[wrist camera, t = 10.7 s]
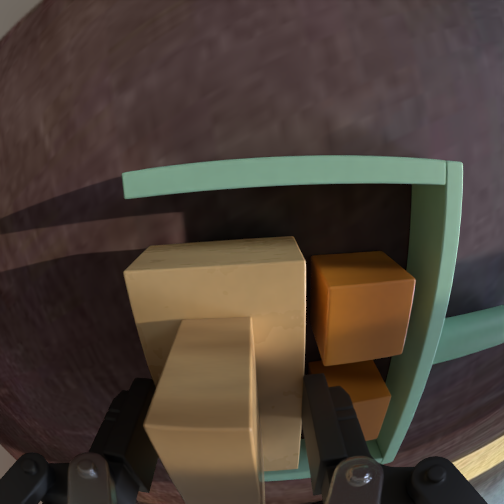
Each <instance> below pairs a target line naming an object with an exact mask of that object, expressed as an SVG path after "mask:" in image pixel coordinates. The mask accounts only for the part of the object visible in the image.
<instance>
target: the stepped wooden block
mask: <svg viewBox="0 0 504 504" xmlns="http://www.w3.org/2000/svg"><path fill="white" fill-rule="evenodd" d="M123 275H124V279H125V284H126V288H127V292H128V296H129V301H130V305H131V309H132V312H133V316H134V320H135V324H136V327H137V331H138V335H139V338H140V342H141V345H142V348H143V352H144V355H145V358H146V361H147V365H148V368H149V371H150V374H151V377H152V380H153V382H154V385H155V388H156V389H155V392H154V395H153V398H152V400H151V403H150V406H149V409H148V412H147V415H146V417H145V420H144V423H143V427H144V429H145V431H146V433H147V435H148V438H149V440H150V442H151V443H152V445H153V447H154V449H155V451H156V453H157V455H158V457H159V459H160V461H161V462H162V464H163V466H164V468H165V470H166V471H167V473H168V475H169V477H170V478H171V480H172V482H173V483H174V485H175V487H176V488H177V490H178V492H179V493H180V495H181V497H182V498H183V500H184V501H185V503H186V504H265V484H264V471H279V470H291V469H298V466H299V454H300V441H301V426H302V420H301V415H302V396H303V376H304V368H305V334H306V261H305V259H304V257H303V255H302V253H301V251H300V249H299V247H298V245H297V243H296V241H295V239H294V237H293V236H284V237H269V238H253V239H238V240H224V241H209V242H195V243H181V244H168V245H155V246H149V247H148V248H147V249H146V250H145V251H144V252H143V253H142V254H141V255H140V256H139V257H138V258H137V259H136V260H135V261H134V262H133V263H132V264H131V265H130V266H129V267H128V268H127V269H125V270H124V272H123Z"/></svg>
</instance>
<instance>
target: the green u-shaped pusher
mask: <svg viewBox="0 0 504 504" xmlns="http://www.w3.org/2000/svg"><path fill="white" fill-rule="evenodd" d="M122 183H123V192H124V198H125V199H133V198H141V197H149V196H158V195H167V194H177V193H187V192H197V191H208V190H221V189H234V188H248V187H265V186H284V185H309V184H356V183H387V184H412V198H411V222H410V237H409V249H408V259H407V269H406V271H407V272H408V273H409V274H410V275H412V276H413V277H414V278H415V280H416V283H415V290H414V296H413V302H412V308H411V314H410V319H409V324H408V329H407V334H406V339H405V343H404V348H403V352H402V354H401V355H396V356H392V358H391V362H390V367H389V371H388V375H387V379H386V383H385V384H386V386H387V388H388V390H389V392H390V394H391V399H390V402H389V405H388V408H387V411H386V415H385V418H384V421H383V423H382V426H381V429H380V432H379V435H378V437H377V439H373V440H368V441H366V444H367V447H368V450H369V452H370V454H371V456H372V457H373V458H374V459H375V460H376V461H377V462H378V463H380V464H385V463H389V462H392V461H393V459H394V458H395V456H396V453H397V451H398V449H399V447H400V445H401V443H402V441H403V439H404V437H405V434H406V432H407V430H408V428H409V425H410V423H411V421H412V418H413V416H414V413H415V411H416V408H417V406H418V403H419V401H420V398H421V395H422V393H423V390H424V387H425V384H426V381H427V378H428V376H429V373H430V369H431V366H432V364H436V363H440V362H444V361H448V360H451V359H455V358H458V357H462V356H465V355H468V354H472V353H475V352H478V351H481V350H484V349H487V348H490V347H493V346H496V345H499V344H502V343H504V305H500V306H496V307H492V308H488V309H484V310H480V311H476V312H471V313H467V314H462V315H458V316H453V317H448V318H445V315H446V311H447V307H448V302H449V297H450V292H451V287H452V281H453V276H454V270H455V263H456V256H457V249H458V241H459V232H460V221H461V208H462V188H463V163H461V162H455V161H446V160H436V159H424V158H409V157H389V156H354V155H318V156H282V157H261V158H245V159H231V160H219V161H208V162H198V163H189V164H180V165H172V166H164V167H156V168H149V169H143V170H136V171H131V172H125V173H122ZM310 477H311V476H310V470H309V464H308V457H307V451H306V445H305V439H301V441H300V454H299V466H298V469H291V470H279V471H264V481H279V480H292V479H302V478H310Z"/></svg>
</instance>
